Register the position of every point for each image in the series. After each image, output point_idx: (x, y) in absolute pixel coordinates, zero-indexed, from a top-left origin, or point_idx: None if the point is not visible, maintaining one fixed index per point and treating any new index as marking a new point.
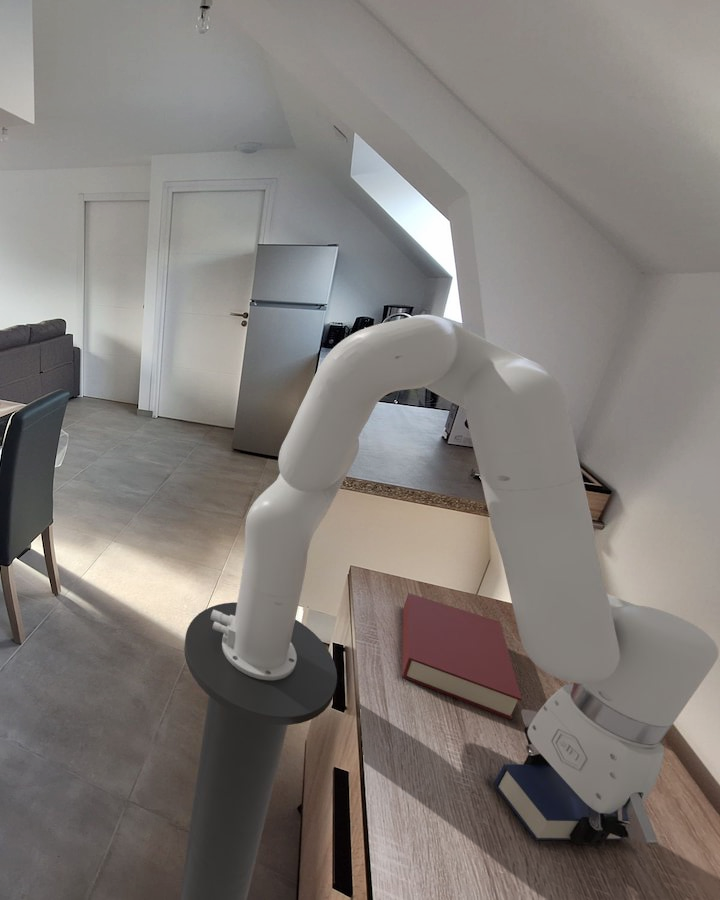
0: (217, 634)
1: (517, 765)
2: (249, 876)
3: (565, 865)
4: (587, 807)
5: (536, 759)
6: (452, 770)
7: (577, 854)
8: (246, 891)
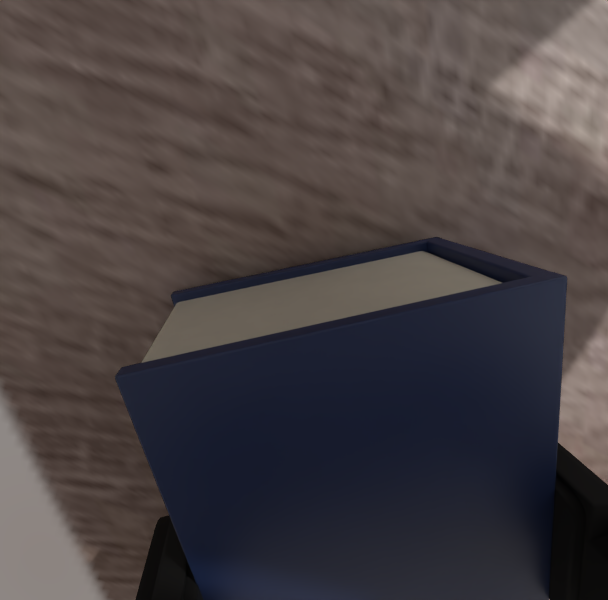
0: None
1: (553, 382)
2: None
3: (94, 368)
4: None
5: (596, 534)
6: (503, 34)
7: None
8: None
